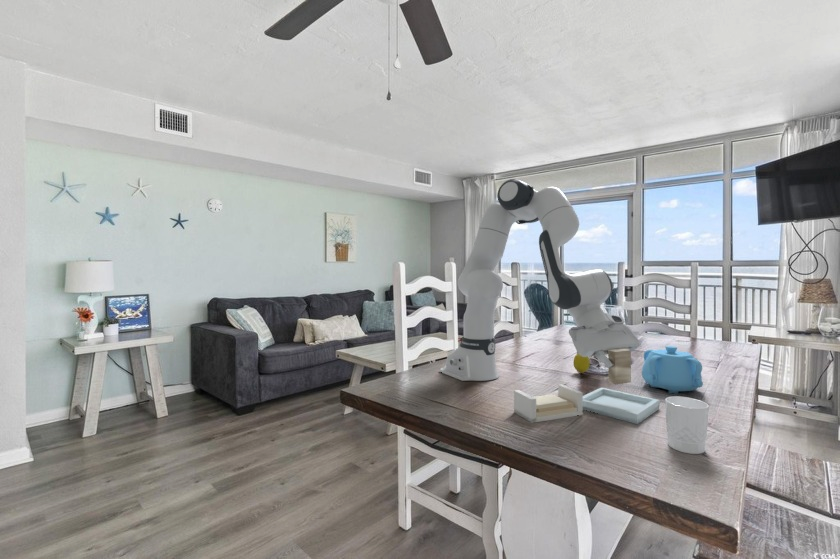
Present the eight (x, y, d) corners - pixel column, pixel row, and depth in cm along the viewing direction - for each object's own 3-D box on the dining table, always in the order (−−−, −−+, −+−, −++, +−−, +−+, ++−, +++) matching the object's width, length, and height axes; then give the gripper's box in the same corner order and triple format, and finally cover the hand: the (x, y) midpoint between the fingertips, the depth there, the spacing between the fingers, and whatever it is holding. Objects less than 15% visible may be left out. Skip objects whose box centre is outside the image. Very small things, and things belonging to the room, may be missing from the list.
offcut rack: (514, 412, 109) (514, 390, 109) (562, 405, 114) (562, 384, 114) (531, 422, 102) (531, 399, 101) (582, 414, 107) (582, 392, 107)
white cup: (663, 449, 86) (664, 403, 86) (665, 436, 93) (666, 394, 93) (708, 459, 82) (709, 411, 82) (707, 445, 89) (708, 400, 88)
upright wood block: (608, 382, 112) (608, 350, 112) (623, 379, 114) (623, 348, 114) (615, 384, 110) (615, 351, 109) (631, 382, 112) (630, 350, 111)
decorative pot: (699, 385, 133) (699, 344, 133) (704, 399, 119) (704, 353, 119) (642, 379, 141) (643, 340, 141) (641, 391, 127) (642, 348, 127)
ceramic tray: (576, 407, 112) (576, 399, 112) (601, 395, 123) (601, 387, 123) (637, 424, 100) (637, 414, 100) (659, 408, 111) (659, 399, 111)
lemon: (591, 376, 145) (591, 354, 145) (574, 375, 146) (574, 353, 146) (587, 372, 150) (587, 350, 150) (572, 371, 151) (572, 350, 151)
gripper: (571, 321, 114) (597, 362, 106) (626, 316, 121) (655, 355, 112) (561, 334, 119) (585, 375, 110) (614, 329, 126) (641, 367, 117)
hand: (621, 365), depth 111 cm, fingers closed on upright wood block, 5 cm apart
